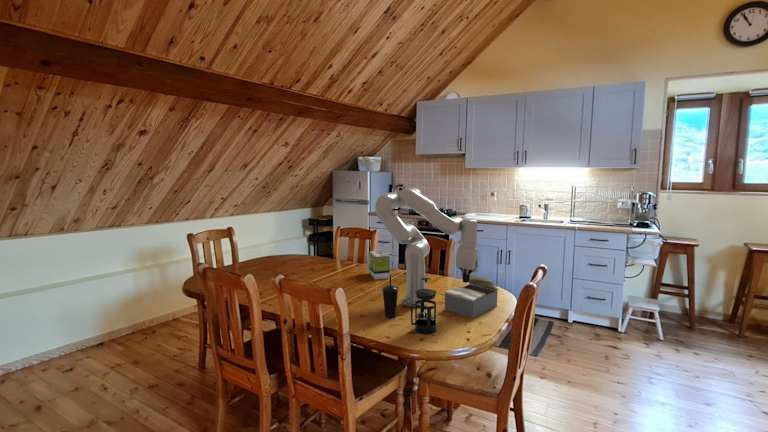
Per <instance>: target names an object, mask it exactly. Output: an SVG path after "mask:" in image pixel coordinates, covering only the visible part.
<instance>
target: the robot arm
mask: <svg viewBox="0 0 768 432" xmlns="http://www.w3.org/2000/svg"><path fill="white" fill-rule="evenodd" d="M401 207H408V208H409V209H411V210H413V211H414V212H416V213H418V214H419V215H420V216H422V217H424V218H425V220H427V221H428V222H429V223H430V224H431V226H433V227H435V228H436V229H438V230H439V231H441V232H443V233H444V234H446V235H449V236H450V235H452V236H453V235H455V234H457V233H459V232H460V240H458V242H457V243H458V244H459V246H458V247H457V250H456V254H455V255H456V256H455V266H456V268H457V269H459V270H460V271H461V274H463V276H462V283H464V284H465V283H468V282H469V280H470V275H472V273H477V272H478V270H477V269H478V268H479V267H478V265H479V252H478V251H479V250H478V248H477V239H478V237H477V236H478V226H479V225H478V220H476V219H475V218H463V217H459V216H452V217H451V216H450V217H449V216H448V215H445V214H444V213H443V212H442V211H440V210H439V209H438V208H437V205H436V203H435V202H434V201H432V200H431V199H429V198H428V197H426V196H424V195H423V194H422V192H421V190H419V189H418V188H416V187H409V188H406V189H400V190H396V191H392V192H386V193H383V194H380V196H379V197H378V198H377V199H376V201H375V206H374V209H375V210H374V211H375V214H376V217H377V218H378V220H379V221H380V222H381V223H382V225H384V227H385V228H386V229H387V231H388V232H389V233H390V235H391V236H392V237H393V239H394V240H395V241H396V242H397V243H398V244H401V245H407V247H406V248H405V254H404V255H405V256H404V257H405V266H406V268H405V269H406V270H405V271H406V277H405V280H406V281H405V282H406V284H405V289H406V291H405V295H404V298H402V299H400V300H399V302H400V303H401V304H404V305H405V306H406V307H410V308H411V304H415V302H416V301H418V300H422V299H418V298H417V297H416V293H415V291H416V290H418V289H426V283H425V280H422V279H421V278H423V277H426V263H425V258H426V257H427V256H428V255H429V253H430V250H431V247H430V243H429V242H428V240H427V239H426V238H425V237H424V235H423V234H422V233H421V232H420V231H419V229H418V228H417V227H416V226H415V225H413V224H412V223H405V222H403V220H402V219H401V218H400V216H398V215H397V214H396V213H395V211H394V209H396V208H401ZM428 304H429V303H426V306H428ZM417 305H419V306H420V303H418V304H417ZM424 306H425V302H424ZM413 308H415V306H413Z"/></svg>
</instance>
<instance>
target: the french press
mask: <svg viewBox="0 0 768 432" xmlns="http://www.w3.org/2000/svg"><path fill="white" fill-rule="evenodd" d="M421 279H422V280H425V284H427V283H428V281H431V279H432V278H431V277H427V276H425V277H423V278H421ZM415 293H416V297H417V298H418V299H422V300H418V301H416V302H415V304H411V307H410V324H411V326H414V331H415V332H416V333H418V334H419V335H420V334H421V335H432V334H435V333H436V332H437V302H436V301H434V300H433V299H435V297H436V295H437V291H436V290H435V289H431V288H425V289H418V290H416V291H415ZM424 302H425V306H424ZM418 303H420V306H419V305H417V304H418ZM426 303H428V304H433V305H430V306H428V305H426ZM413 306H415V307H413ZM413 308H414V309H413ZM418 309H420V311H419V312H418ZM413 310H414V312H413ZM432 310H433V313H432ZM413 313H414V314H413ZM413 315H414V322H413Z"/></svg>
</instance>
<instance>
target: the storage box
mask: <svg viewBox="0 0 768 432" xmlns="http://www.w3.org/2000/svg"><path fill="white" fill-rule="evenodd" d="M462 287H463V288H467V289H471V290H475V291H479V292H483V293H486V295H485V296H483V297H481V298H479V299H477V300H475V301H470V300H466V299H463V298H459V297H455V296H452V295H448V294H445V293H444V310H446V311H448V312H451V313H454V314H458V315H462V316H465V317H467V318H471V319H475V318H476V317H478V316H480V315H482V313H483V314H484V312H485V313H487V312H489V311H491V310H493V309H495V308H496V307H498V291H497V290H493V289H488V288H484V287H480V286H476V285H472V284H469V283H468V284H467V285H464V286H462ZM486 311H487V312H486Z"/></svg>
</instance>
